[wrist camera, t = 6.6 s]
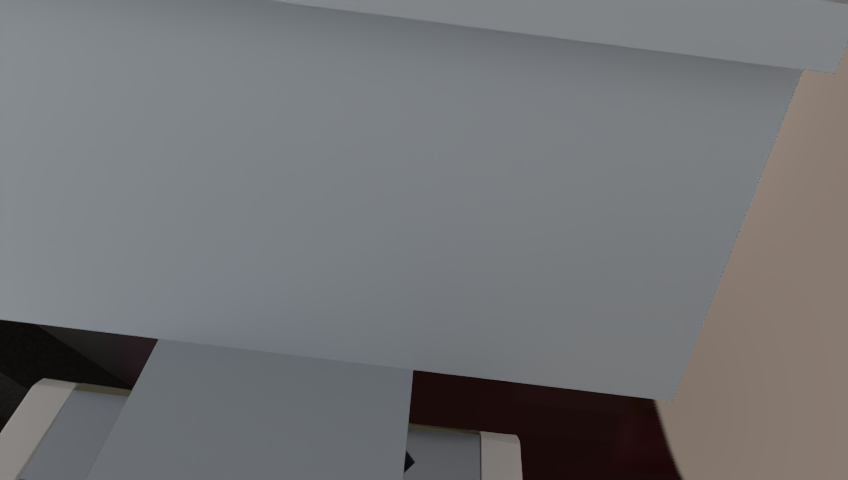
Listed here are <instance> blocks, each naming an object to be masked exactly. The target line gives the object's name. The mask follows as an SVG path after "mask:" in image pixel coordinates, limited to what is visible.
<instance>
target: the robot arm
mask: <svg viewBox="0 0 848 480" xmlns="http://www.w3.org/2000/svg"><path fill="white" fill-rule="evenodd" d="M131 392H132V390H127V389H120V388H113V387H106V386H99V385H93V384H86V383H74V382H67V381H60V380H53V379H47V378H43V379H42V380H40V381H39V382H37V383H36V384H35V385H33V386H32V387H31V389H30V390H29V392H28V393H27V395H26V396H25V398H24V399H23V401H22V402H21V404H20V405H19V406H18V408H17V409H16V411H15V412H14V414H13V415H12V417H11V418H10V420H9V421H8V423H7V424H6V426H5V427H4V428H3V430H2V431H1V433H0V480H86V478H87V477H88V475H89V473H90V471H91V469H92V467H93V465H94V463H95V461H96V459H97V457H98V455H99V453H100V451H101V450H102V448H103V446H104V444H105V442H106V440H107V438H108V436H109V434H110V432H111V430H112V428H113V426H114V424H115V423H116V421H117V419H118V417H119V415H120V413H121V411H122V409H123V407H124V405H125V403H126V401H127V399H128V397H129V396H130V394H131ZM403 480H522V467H521V452H520V441H519V439H518V437H517V436H516V435H508V434H499V433H490V432H481V431H480V432H479V433H478V431H474V430H464V429H455V428H446V427H437V426H428V425H419V424H410V423H408V431H407V441H406V452H405V463H404V473H403Z"/></svg>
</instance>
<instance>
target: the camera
mask: <svg viewBox="0 0 848 480" xmlns="http://www.w3.org/2000/svg"><path fill="white" fill-rule="evenodd" d="M43 378H47V379H53V380H60V381H67V382H74V383H86V384H93V385H99V386H106V387H113V388H120V389H127V390H133V388H132V387H130V386H129V385H127V384H126V383H124V382H123V381H121V380H120V379H118V378H116V377H115V376H113V375H112V374H110V373H109V372H107V371H106V370H104V369H103V368H101V367H100V366H98V365H97V364H95V363H93V362H92V361H90V360H89V359H87V358H86V357H84V356H83V355H81V354H80V353H78V352H77V351H75V350H74V349H72V348H71V347H69V346H67V345H66V344H64V343H63V342H61V341H60V340H58V339H57V338H55V337H54V336H52V335H51V334H49V333H48V332H46V331H44V330H43V329H41V328H40V327H38V326H37V325H35V324H33V323H25V322H17V321H9V320H0V433H1V431H2V430H3V428H4V427H5V426H6V424H7V423H8V421H9V420H10V418H11V417H12V415H13V414H14V412H15V411H16V409H17V408H18V406H19V405H20V404H21V402H22V401H23V399H24V398H25V396H26V395H27V393H28V392H29V390H30V389H31V387H32V386H33V385H35V384H36V383H37V382H39V381H40V380H42V379H43Z"/></svg>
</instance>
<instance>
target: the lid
mask: <svg viewBox="0 0 848 480" xmlns="http://www.w3.org/2000/svg"><path fill="white" fill-rule="evenodd" d="M847 44H848V0H0V320H9V321H17V322H25V323H33V324H41V325H50V326H58V327H66V328H74V329H83V330H91V331H99V332H107V333H115V334H124V335H132V336H140V337H148V338H157V339H159V340H158V342H157V343H156V345H155V347H154V349H153V351H152V353H151V355H150V357H149V359H148V361H147V363H146V365H145V367H144V369H143V370H142V372H141V374H140V376H139V378H138V380H137V382H136V384H135V386H134V388H133V390H132V392H131V394H130V396H129V397H128V399H127V401H126V403H125V405H124V407H123V409H122V411H121V413H120V415H119V417H118V419H117V421H116V423H115V424H114V426H113V428H112V430H111V432H110V434H109V436H108V438H107V440H106V442H105V444H104V446H103V448H102V450H101V451H100V453H99V455H98V457H97V459H96V461H95V463H94V465H93V467H92V469H91V471H90V473H89V475H88V477H87V478H86V480H403V473H404V463H405V452H406V441H407V431H408V420H409V409H410V399H411V388H412V377H413V370H420V371H428V372H436V373H444V374H453V375H461V376H469V377H477V378H485V379H494V380H502V381H510V382H518V383H527V384H535V385H543V386H551V387H559V388H568V389H576V390H584V391H592V392H601V393H609V394H617V395H625V396H633V397H642V398H650V399H658V400H667V401H673V398H674V395H675V393H676V391H677V388H678V386H679V383H680V380H681V378H682V375H683V373H684V370H685V368H686V365H687V363H688V360H689V357H690V355H691V353H692V350H693V348H694V345H695V343H696V340H697V337H698V335H699V332H700V330H701V327H702V325H703V322H704V320H705V317H706V315H707V312H708V309H709V307H710V305H711V302H712V299H713V297H714V294H715V291H716V289H717V287H718V284H719V282H720V278H721V277H722V274H723V272H724V269H725V266H726V264H727V261H728V259H729V256H730V254H731V251H732V249H733V246H734V244H735V241H736V239H737V236H738V233H739V231H740V229H741V226H742V223H743V221H744V218H745V216H746V213H747V211H748V208H749V206H750V203H751V201H752V198H753V196H754V193H755V191H756V187H757V185H758V183H759V180H760V178H761V175H762V172H763V170H764V168H765V165H766V162H767V160H768V158H769V155H770V152H771V150H772V147H773V145H774V142H775V140H776V137H777V135H778V132H779V129H780V127H781V125H782V122H783V120H784V117H785V114H786V112H787V109H788V107H789V104H790V102H791V99H792V97H793V94H794V92H795V89H796V86H797V84H798V81H799V79H800V77H801V74H802V71H803V70H810V71H817V72H825V73H832V74H835V73H836V71H837V68H838V66H839V63H840V61H841V59H842V56H843V54H844V51H845V49H846V46H847Z"/></svg>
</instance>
